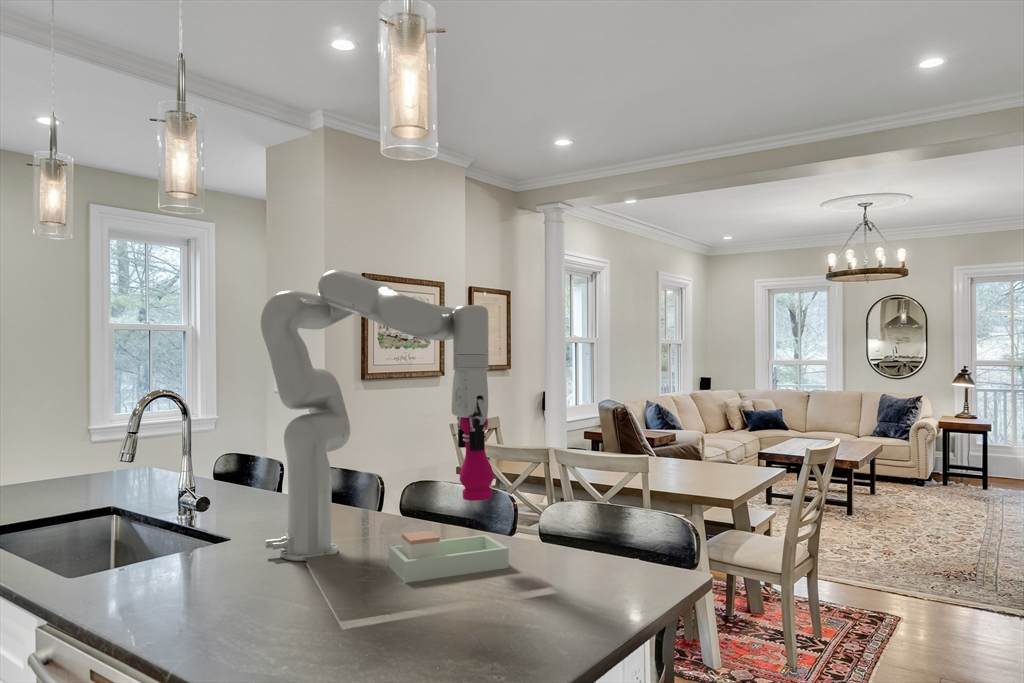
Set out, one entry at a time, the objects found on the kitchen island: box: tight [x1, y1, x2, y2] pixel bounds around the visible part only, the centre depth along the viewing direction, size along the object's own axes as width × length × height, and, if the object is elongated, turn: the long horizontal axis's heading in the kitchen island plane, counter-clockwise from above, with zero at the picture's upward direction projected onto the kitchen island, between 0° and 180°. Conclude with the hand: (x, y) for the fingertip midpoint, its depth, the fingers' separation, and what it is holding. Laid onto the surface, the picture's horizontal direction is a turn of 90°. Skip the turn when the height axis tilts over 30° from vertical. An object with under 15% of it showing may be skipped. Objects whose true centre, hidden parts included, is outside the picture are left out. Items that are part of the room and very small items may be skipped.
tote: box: [388, 534, 510, 584], centre depth 139 cm, size 22×12×5 cm, turn 115°
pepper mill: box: [459, 414, 495, 502], centre depth 142 cm, size 7×7×20 cm
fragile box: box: [401, 530, 441, 560], centre depth 137 cm, size 6×6×7 cm
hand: (470, 448), depth 142 cm, fingers closed on pepper mill, 5 cm apart
